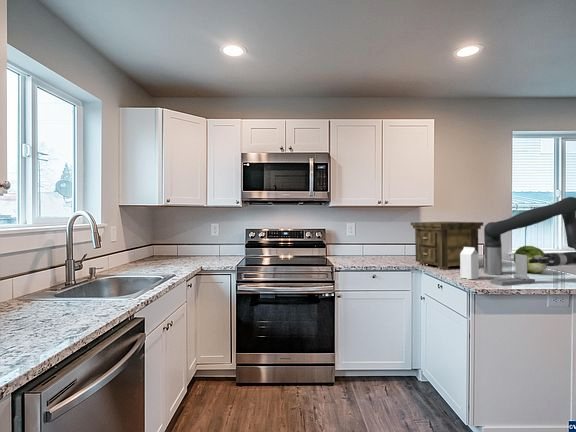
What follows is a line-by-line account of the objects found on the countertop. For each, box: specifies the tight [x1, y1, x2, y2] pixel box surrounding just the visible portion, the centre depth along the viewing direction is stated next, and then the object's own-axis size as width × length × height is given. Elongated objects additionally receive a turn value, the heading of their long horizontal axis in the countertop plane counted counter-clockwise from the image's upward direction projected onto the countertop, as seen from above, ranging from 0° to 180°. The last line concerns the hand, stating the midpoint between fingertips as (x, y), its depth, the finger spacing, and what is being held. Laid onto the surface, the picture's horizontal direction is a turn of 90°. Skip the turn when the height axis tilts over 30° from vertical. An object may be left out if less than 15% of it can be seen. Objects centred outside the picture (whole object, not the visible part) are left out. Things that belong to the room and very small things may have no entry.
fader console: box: [489, 277, 536, 287], centre depth 191 cm, size 22×8×2 cm, turn 103°
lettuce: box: [513, 245, 548, 274], centre depth 222 cm, size 17×23×17 cm
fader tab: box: [513, 254, 530, 279], centre depth 192 cm, size 4×6×13 cm, turn 13°
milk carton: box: [459, 247, 480, 280], centre depth 205 cm, size 7×7×19 cm
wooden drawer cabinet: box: [410, 221, 484, 270], centre depth 254 cm, size 35×35×33 cm
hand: (530, 261), depth 193 cm, fingers closed
